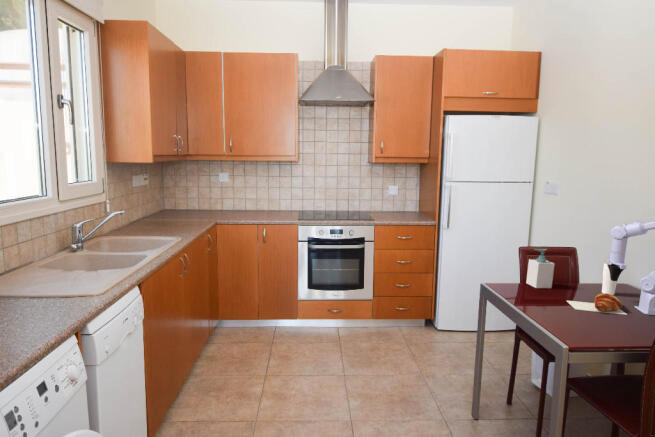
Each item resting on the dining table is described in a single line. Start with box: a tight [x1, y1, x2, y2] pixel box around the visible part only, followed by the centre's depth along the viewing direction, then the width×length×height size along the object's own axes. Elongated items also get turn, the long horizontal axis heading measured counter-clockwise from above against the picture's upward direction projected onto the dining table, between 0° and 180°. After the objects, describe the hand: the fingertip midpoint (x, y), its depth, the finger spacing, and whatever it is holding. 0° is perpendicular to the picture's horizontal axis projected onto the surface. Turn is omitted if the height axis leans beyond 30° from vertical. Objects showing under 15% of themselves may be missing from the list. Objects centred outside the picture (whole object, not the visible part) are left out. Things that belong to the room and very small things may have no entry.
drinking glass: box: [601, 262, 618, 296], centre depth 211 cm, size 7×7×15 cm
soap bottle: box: [525, 248, 555, 289], centre depth 220 cm, size 9×9×19 cm
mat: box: [565, 300, 628, 316], centre depth 191 cm, size 12×20×1 cm, turn 79°
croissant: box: [593, 293, 623, 312], centre depth 190 cm, size 21×10×8 cm, turn 130°
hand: (613, 280), depth 201 cm, fingers closed
